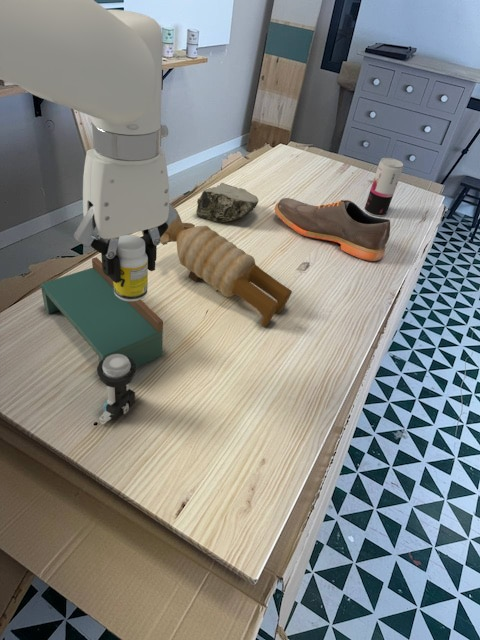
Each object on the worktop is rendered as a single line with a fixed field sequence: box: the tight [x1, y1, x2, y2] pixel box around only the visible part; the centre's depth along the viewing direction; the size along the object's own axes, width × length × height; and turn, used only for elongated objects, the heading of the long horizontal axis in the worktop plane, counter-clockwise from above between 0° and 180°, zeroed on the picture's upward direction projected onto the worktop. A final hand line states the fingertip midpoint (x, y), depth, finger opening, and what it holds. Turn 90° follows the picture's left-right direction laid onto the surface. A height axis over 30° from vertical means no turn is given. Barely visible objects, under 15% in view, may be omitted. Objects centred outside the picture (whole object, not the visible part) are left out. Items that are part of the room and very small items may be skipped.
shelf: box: [40, 257, 164, 374], centre depth 81 cm, size 11×22×8 cm, turn 42°
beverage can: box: [364, 157, 404, 217], centre depth 133 cm, size 6×7×15 cm
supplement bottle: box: [113, 234, 149, 301], centre depth 65 cm, size 5×5×8 cm
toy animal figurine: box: [160, 207, 293, 328], centre depth 95 cm, size 10×12×30 cm
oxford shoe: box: [274, 197, 391, 262], centre depth 119 cm, size 11×31×11 cm, turn 59°
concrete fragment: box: [195, 182, 259, 223], centre depth 121 cm, size 15×10×15 cm
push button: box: [96, 354, 137, 426], centre depth 68 cm, size 7×5×10 cm
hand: (130, 270), depth 65 cm, fingers closed on supplement bottle, 4 cm apart
